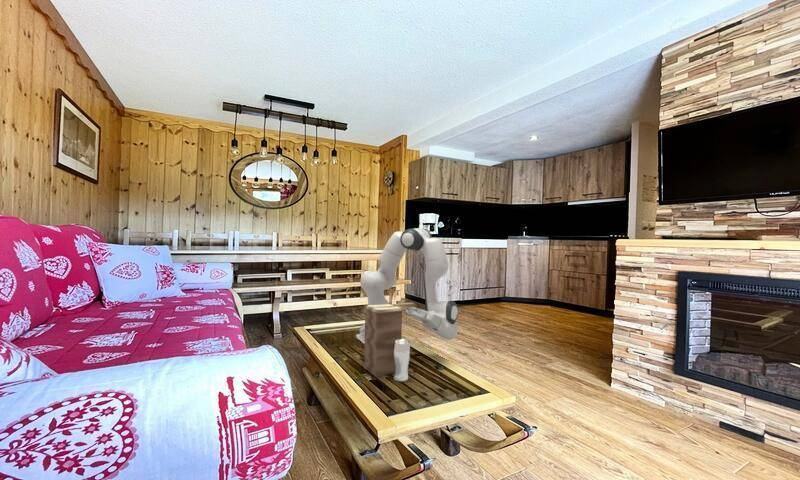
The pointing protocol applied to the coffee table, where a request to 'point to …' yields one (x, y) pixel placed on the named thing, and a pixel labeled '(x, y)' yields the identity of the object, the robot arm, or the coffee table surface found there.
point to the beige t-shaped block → (389, 307)
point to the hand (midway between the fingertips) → (411, 308)
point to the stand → (381, 340)
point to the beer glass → (401, 359)
